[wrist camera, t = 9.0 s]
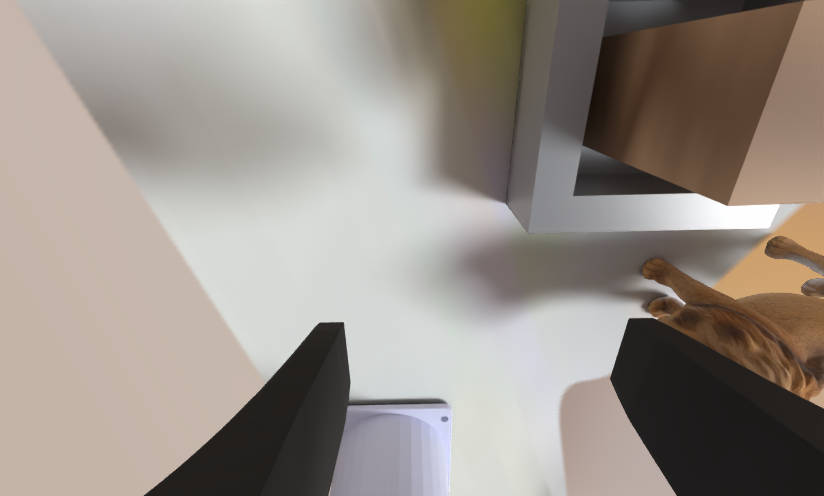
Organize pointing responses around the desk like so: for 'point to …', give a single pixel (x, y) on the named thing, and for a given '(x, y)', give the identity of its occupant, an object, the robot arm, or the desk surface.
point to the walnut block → (719, 104)
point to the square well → (567, 116)
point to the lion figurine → (753, 321)
